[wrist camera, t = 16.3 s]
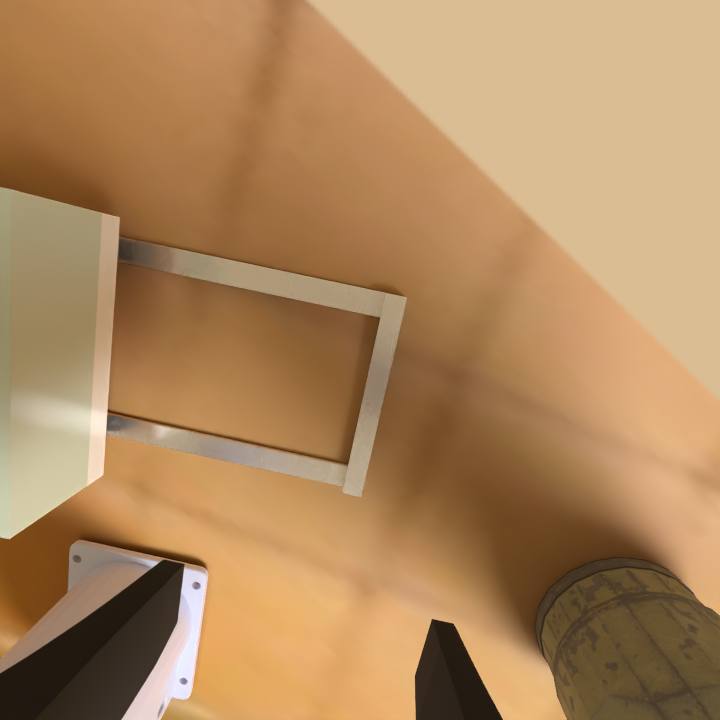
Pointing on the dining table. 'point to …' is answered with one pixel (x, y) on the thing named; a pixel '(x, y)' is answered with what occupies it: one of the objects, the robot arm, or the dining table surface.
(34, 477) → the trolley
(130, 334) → the dining table surface
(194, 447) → the track
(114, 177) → the dining table surface
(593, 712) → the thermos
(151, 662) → the robot arm
